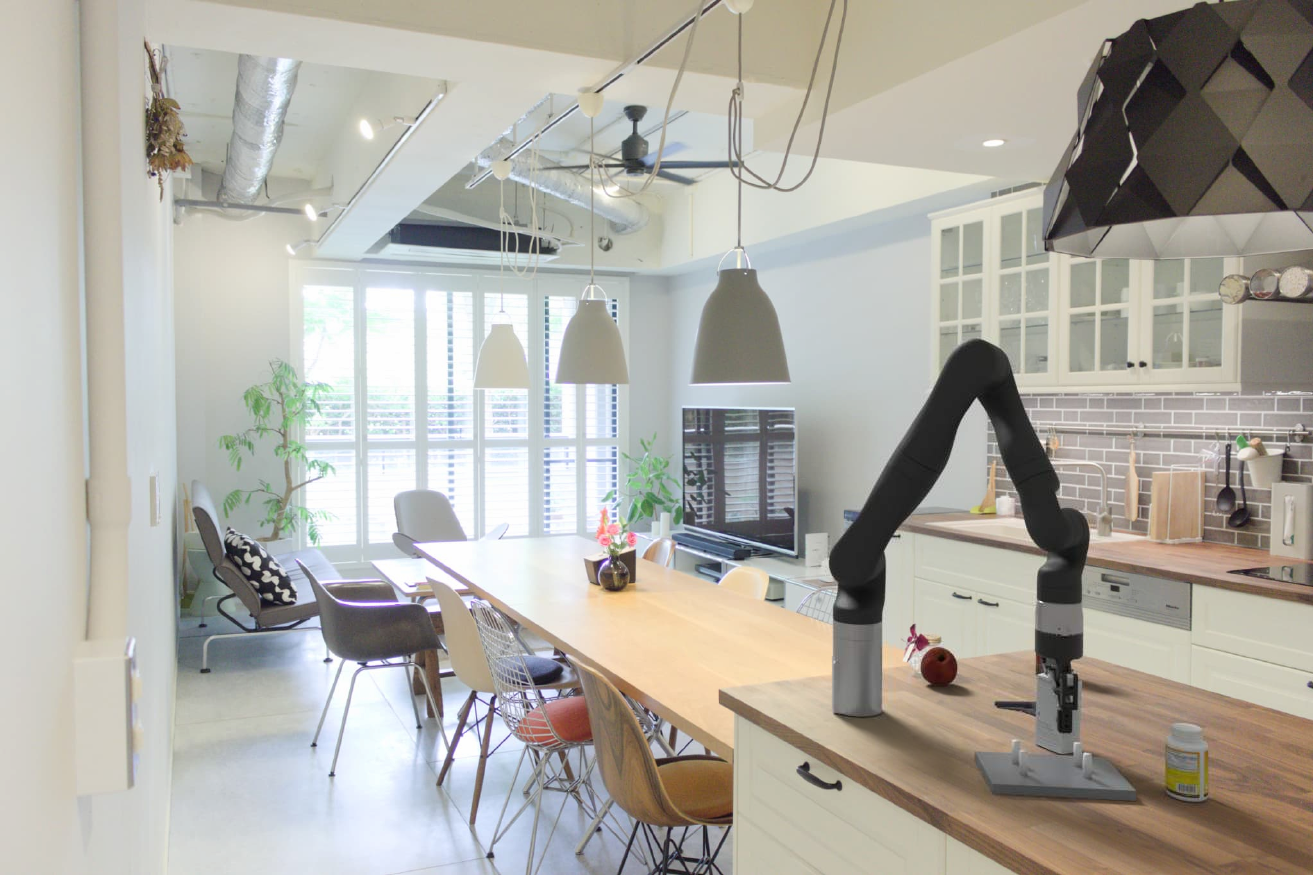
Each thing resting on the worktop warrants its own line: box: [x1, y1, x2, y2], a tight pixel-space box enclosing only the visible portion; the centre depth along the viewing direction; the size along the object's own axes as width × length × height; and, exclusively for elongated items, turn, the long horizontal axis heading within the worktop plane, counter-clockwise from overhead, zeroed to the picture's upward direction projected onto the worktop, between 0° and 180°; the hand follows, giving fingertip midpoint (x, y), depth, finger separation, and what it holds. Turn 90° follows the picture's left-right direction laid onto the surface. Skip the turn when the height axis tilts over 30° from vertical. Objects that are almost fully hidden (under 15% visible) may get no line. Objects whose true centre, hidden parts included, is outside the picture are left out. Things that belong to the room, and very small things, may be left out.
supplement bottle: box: [1164, 722, 1209, 803], centre depth 142 cm, size 6×6×10 cm
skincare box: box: [1034, 673, 1083, 755], centre depth 162 cm, size 6×4×12 cm
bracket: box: [994, 700, 1036, 717], centre depth 179 cm, size 14×15×3 cm
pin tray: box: [974, 738, 1137, 802], centre depth 148 cm, size 20×14×5 cm
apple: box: [919, 646, 959, 687], centre depth 201 cm, size 7×8×8 cm
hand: (1058, 725), depth 162 cm, fingers closed on skincare box, 7 cm apart
